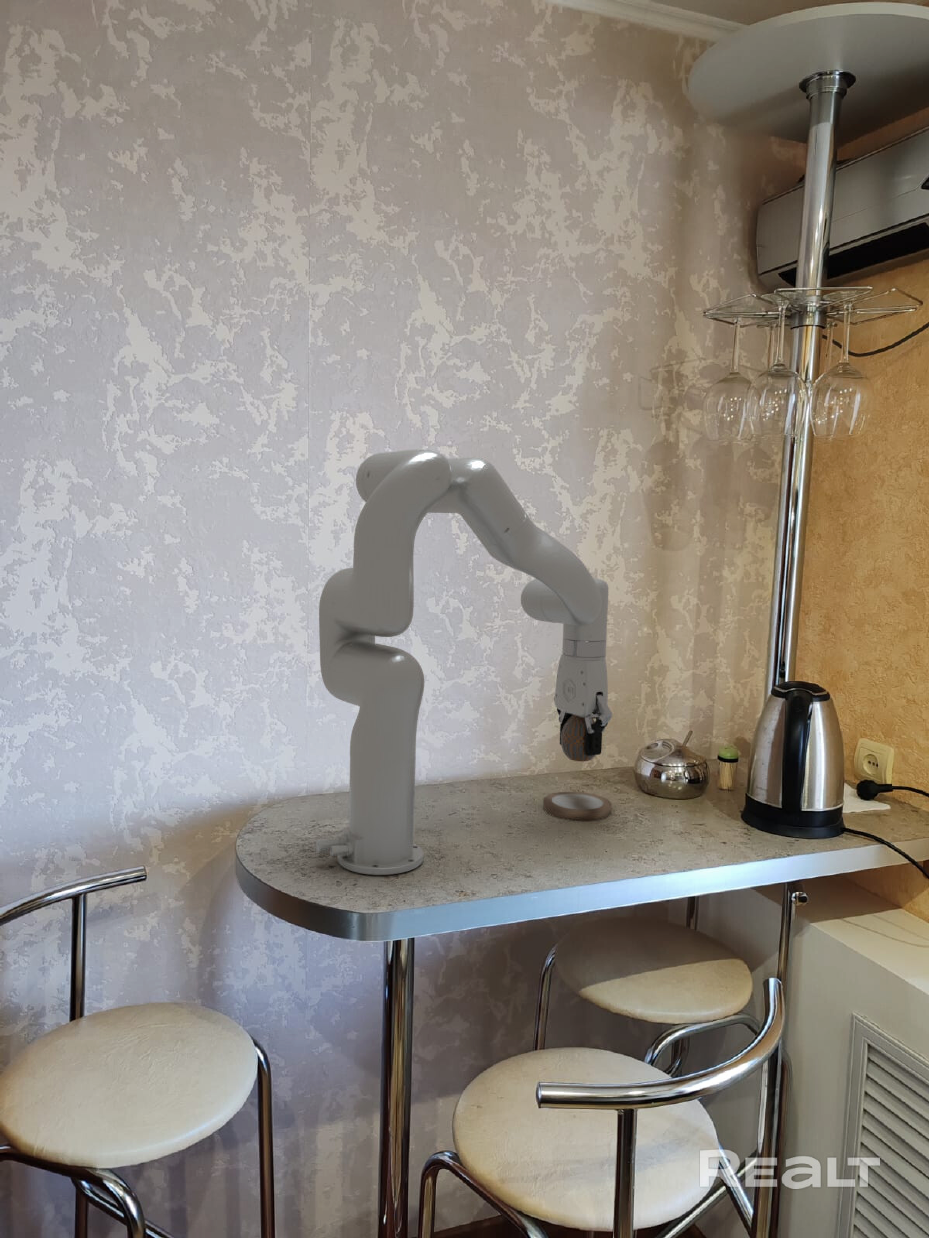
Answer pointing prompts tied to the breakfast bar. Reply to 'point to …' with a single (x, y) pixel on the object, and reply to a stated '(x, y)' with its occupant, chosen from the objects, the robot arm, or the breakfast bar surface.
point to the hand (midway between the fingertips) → (580, 748)
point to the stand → (577, 806)
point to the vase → (575, 739)
